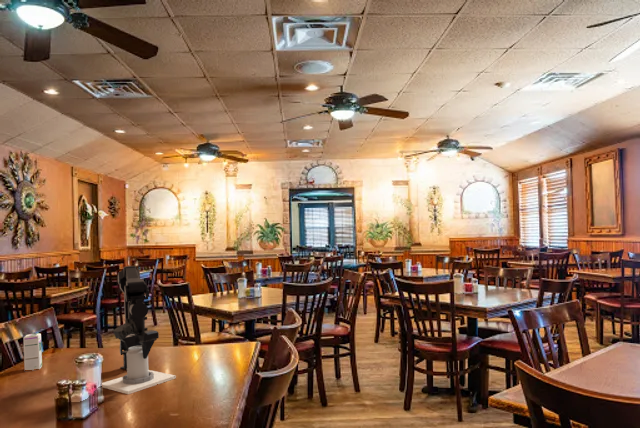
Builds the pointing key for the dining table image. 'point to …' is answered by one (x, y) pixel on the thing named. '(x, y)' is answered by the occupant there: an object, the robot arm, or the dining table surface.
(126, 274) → the robot arm
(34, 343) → the syrup box
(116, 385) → the platter
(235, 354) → the dining table surface
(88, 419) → the dining table surface
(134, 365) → the can
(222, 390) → the dining table surface
